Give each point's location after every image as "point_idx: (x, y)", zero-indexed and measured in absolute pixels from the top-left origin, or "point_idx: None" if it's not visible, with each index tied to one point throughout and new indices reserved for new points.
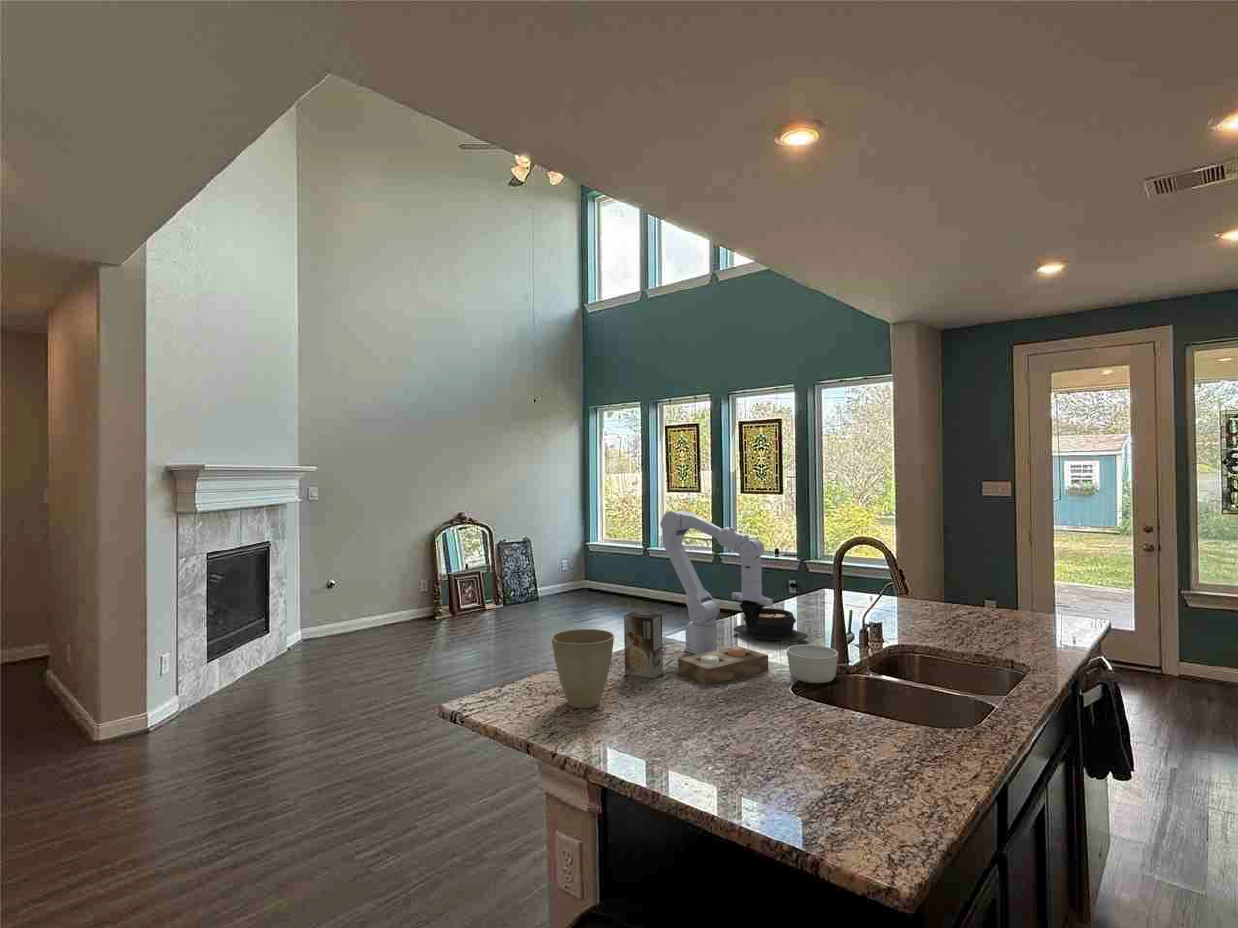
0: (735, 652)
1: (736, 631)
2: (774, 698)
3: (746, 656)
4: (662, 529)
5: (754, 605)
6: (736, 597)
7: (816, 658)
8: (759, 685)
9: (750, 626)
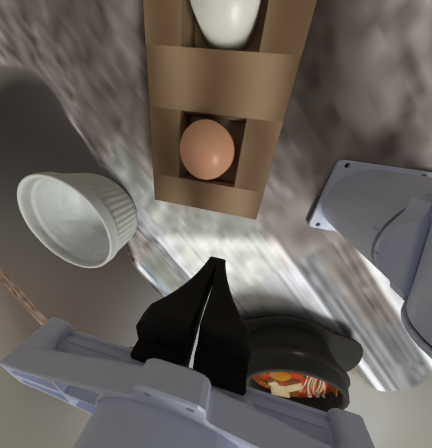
0: (192, 124)
1: (346, 337)
2: (21, 20)
3: (175, 149)
4: None
5: (137, 330)
6: (326, 431)
7: (18, 187)
8: (103, 77)
9: (210, 259)
